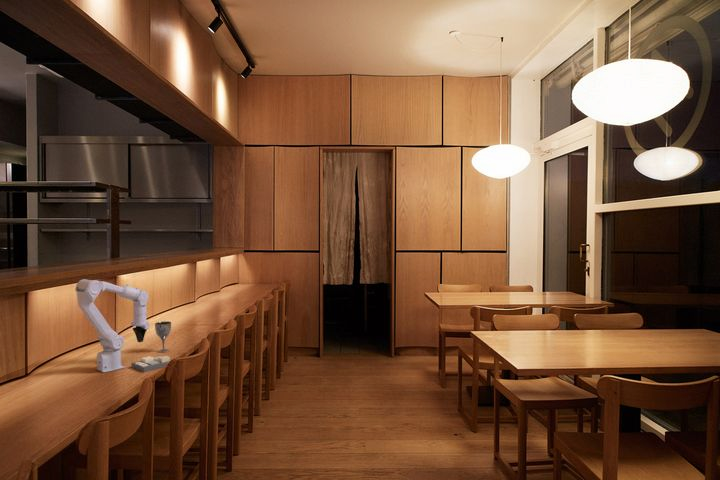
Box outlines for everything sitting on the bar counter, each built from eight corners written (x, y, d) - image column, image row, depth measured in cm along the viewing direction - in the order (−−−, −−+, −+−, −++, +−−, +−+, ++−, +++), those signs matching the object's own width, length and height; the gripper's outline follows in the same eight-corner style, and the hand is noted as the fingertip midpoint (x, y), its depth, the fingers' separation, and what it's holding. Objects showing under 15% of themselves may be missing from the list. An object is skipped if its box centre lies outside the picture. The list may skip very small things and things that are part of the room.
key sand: (161, 363, 212) (161, 359, 212) (157, 361, 215) (157, 357, 215) (170, 361, 216) (169, 357, 216) (165, 359, 218) (165, 355, 218)
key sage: (156, 363, 216) (156, 359, 216) (152, 362, 218) (152, 358, 218) (164, 361, 219) (164, 357, 219) (160, 360, 221) (160, 356, 221)
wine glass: (151, 351, 238) (151, 323, 238) (164, 348, 245) (164, 320, 245) (162, 353, 234) (161, 325, 234) (174, 350, 241) (174, 322, 241)
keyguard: (144, 372, 204) (144, 367, 204) (131, 367, 212) (131, 362, 212) (174, 364, 216) (174, 359, 216) (161, 359, 223) (161, 355, 223)
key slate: (151, 368, 208) (151, 364, 208) (146, 366, 211) (146, 362, 211) (159, 366, 212) (159, 362, 211) (155, 364, 214) (155, 360, 214)
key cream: (145, 363, 212) (145, 359, 212) (141, 362, 214) (141, 358, 214) (153, 361, 215) (153, 357, 215) (149, 360, 217) (149, 356, 217)
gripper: (155, 314, 220) (155, 342, 221) (140, 311, 229) (141, 337, 230) (140, 317, 215) (141, 345, 215) (126, 313, 224) (127, 340, 224)
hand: (140, 341), depth 222 cm, fingers closed
